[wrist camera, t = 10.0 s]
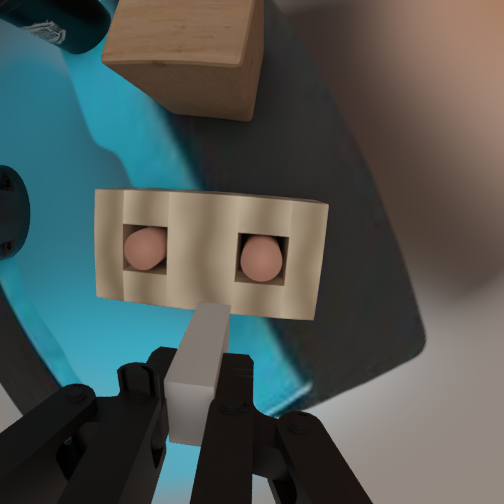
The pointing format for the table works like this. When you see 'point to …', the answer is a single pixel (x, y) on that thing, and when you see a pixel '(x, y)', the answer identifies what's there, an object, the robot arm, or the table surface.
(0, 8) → the water bottle
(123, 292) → the socket board
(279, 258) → the peg
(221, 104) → the wooden block
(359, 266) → the table surface
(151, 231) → the peg
